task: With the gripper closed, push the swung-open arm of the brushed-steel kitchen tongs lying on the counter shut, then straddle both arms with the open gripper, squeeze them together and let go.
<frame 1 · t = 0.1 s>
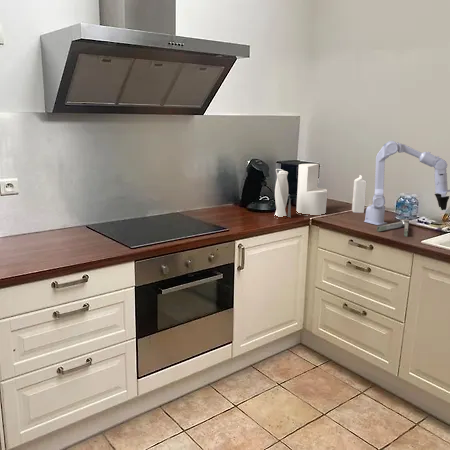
hand: (442, 208, 237), 11 cm above the counter, tool pointing down, fingers open, 7 cm apart
skyscraper: (280, 218, 259), on the counter
milk: (357, 212, 276), on the counter
white stepped block: (310, 212, 273), on the counter
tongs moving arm: (392, 226, 236), point 1 cm above the counter, hinge at 35.0°
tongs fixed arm: (404, 226, 241), on the counter
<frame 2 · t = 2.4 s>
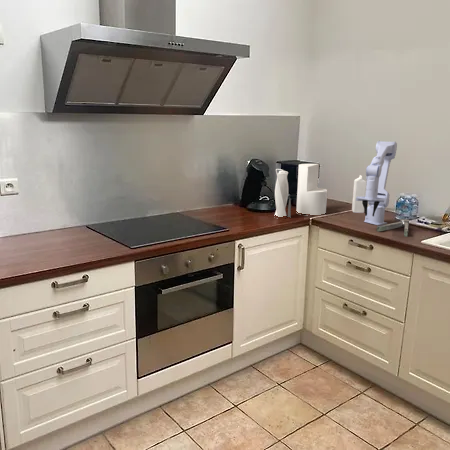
hand: (369, 215, 233), 7 cm above the counter, tool pointing down, fingers open, 3 cm apart
nothing on the counter moved.
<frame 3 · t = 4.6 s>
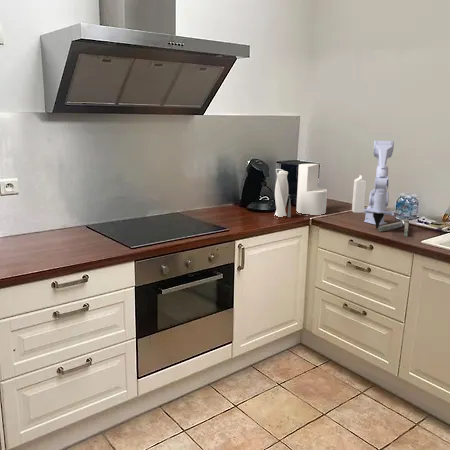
hand: (377, 227, 233), 1 cm above the counter, tool pointing down, fingers closed
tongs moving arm: (393, 226, 236), point 1 cm above the counter, hinge at 33.1°, touching gripper
everything else where it was.
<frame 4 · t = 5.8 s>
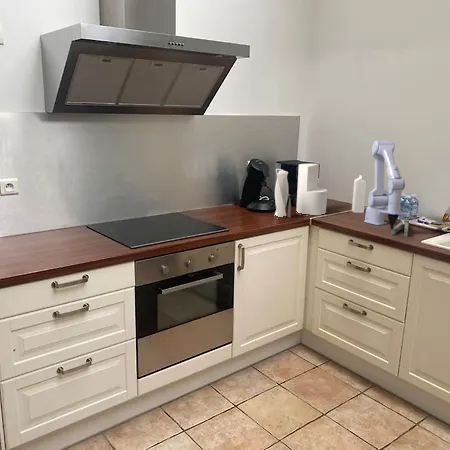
hand: (391, 229, 230), 1 cm above the counter, tool pointing down, fingers closed
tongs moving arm: (399, 227, 233), point 1 cm above the counter, hinge at 12.4°, touching gripper
everything else where it was.
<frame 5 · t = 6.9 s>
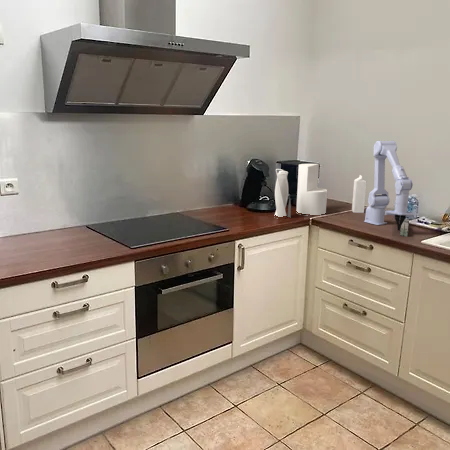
hand: (398, 230, 229), 1 cm above the counter, tool pointing down, fingers closed
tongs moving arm: (403, 228, 232), point 1 cm above the counter, hinge at -0.1°, touching gripper
everything else where it was.
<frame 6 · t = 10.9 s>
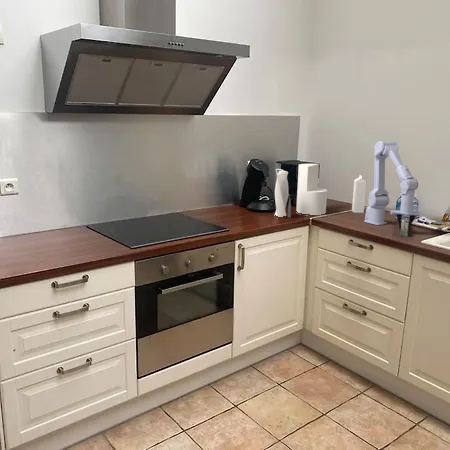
hand: (404, 229, 229), 2 cm above the counter, tool pointing down, fingers open, 3 cm apart
nothing on the counter moved.
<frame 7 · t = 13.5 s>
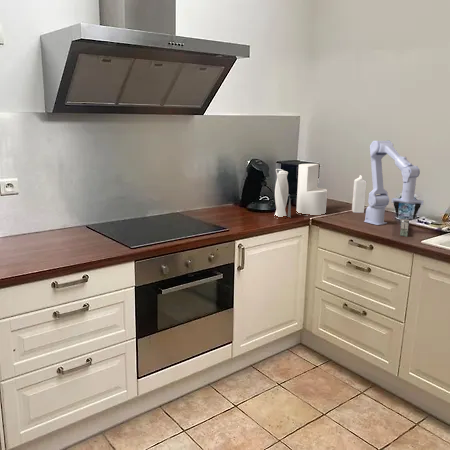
hand: (405, 217, 228), 8 cm above the counter, tool pointing down, fingers open, 7 cm apart
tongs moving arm: (403, 228, 232), point 1 cm above the counter, hinge at -0.1°
everything else where it was.
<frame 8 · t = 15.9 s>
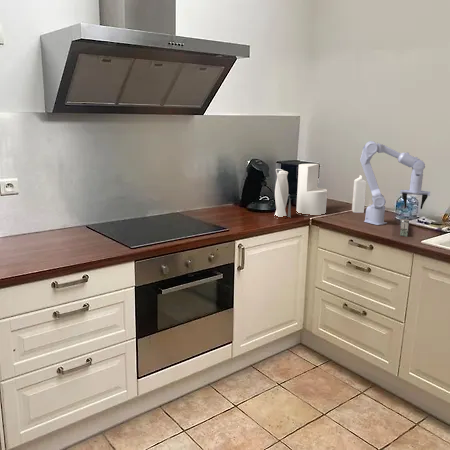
hand: (413, 208, 242), 9 cm above the counter, tool pointing down, fingers open, 7 cm apart
nothing on the counter moved.
at the end: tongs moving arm at +0° (first picture: +35°) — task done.
